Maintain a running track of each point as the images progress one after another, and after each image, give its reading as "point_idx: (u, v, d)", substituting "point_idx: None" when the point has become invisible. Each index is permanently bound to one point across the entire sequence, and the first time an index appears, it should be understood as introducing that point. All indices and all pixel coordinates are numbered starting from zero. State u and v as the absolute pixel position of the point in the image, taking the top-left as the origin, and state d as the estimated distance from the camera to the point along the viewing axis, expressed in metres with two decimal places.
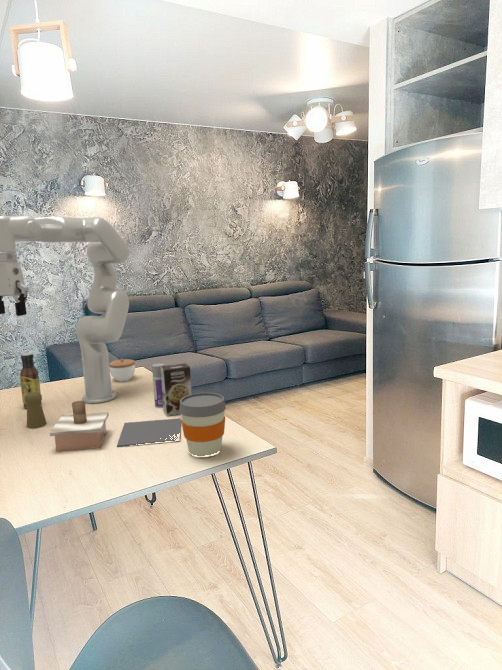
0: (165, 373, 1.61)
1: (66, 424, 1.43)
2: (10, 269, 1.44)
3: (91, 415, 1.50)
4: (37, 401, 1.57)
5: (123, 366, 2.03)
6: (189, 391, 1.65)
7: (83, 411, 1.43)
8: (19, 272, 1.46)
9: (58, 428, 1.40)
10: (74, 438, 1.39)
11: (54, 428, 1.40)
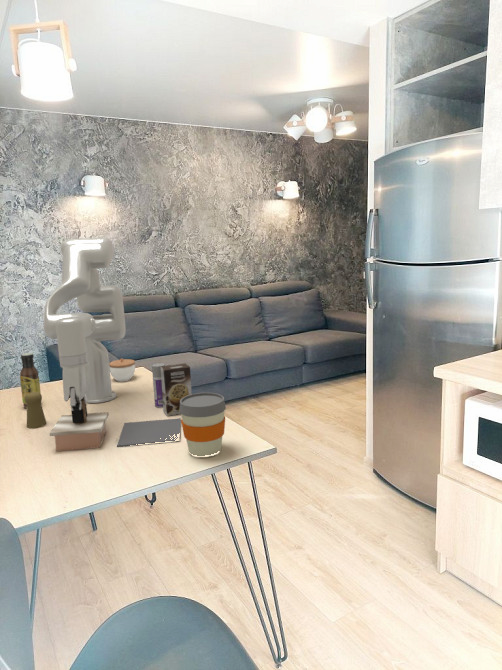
0: (165, 373, 1.61)
1: (66, 424, 1.43)
2: None
3: (91, 415, 1.50)
4: (37, 401, 1.57)
5: (123, 366, 2.03)
6: (189, 391, 1.65)
7: (83, 411, 1.43)
8: None
9: (58, 428, 1.40)
10: (74, 438, 1.39)
11: (54, 428, 1.40)
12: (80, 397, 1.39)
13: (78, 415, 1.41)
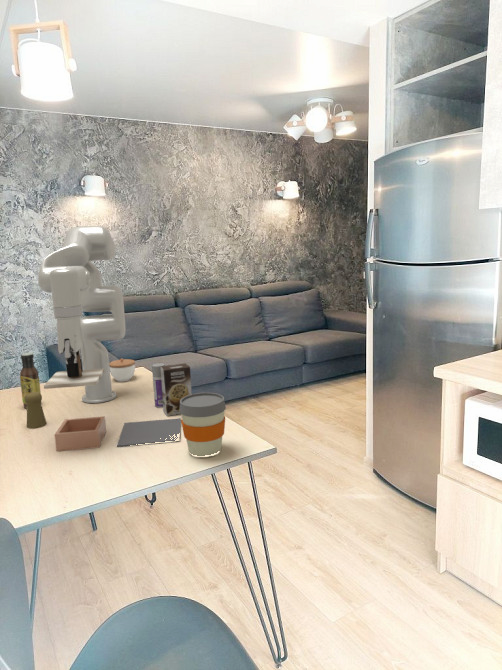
0: (165, 373, 1.61)
1: (61, 378, 1.40)
2: None
3: (86, 371, 1.47)
4: (37, 401, 1.57)
5: (123, 366, 2.03)
6: (189, 391, 1.65)
7: (78, 365, 1.41)
8: None
9: (53, 381, 1.38)
10: (74, 438, 1.39)
11: (48, 381, 1.38)
12: (75, 349, 1.36)
13: (73, 368, 1.39)
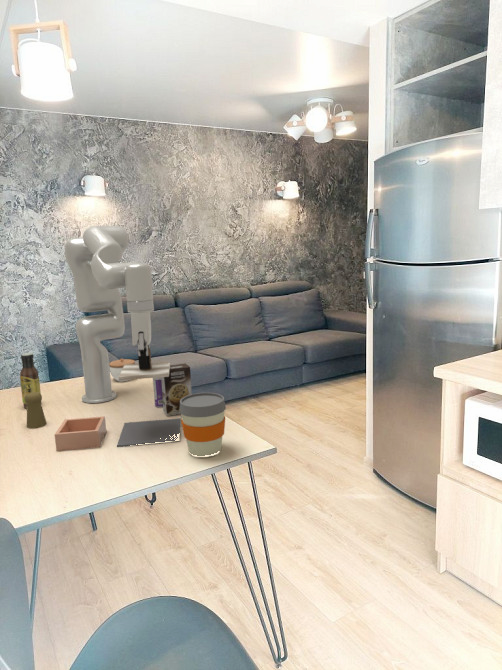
0: None
1: (132, 371, 1.44)
2: None
3: (154, 364, 1.51)
4: (37, 401, 1.57)
5: (123, 366, 2.03)
6: (189, 391, 1.65)
7: None
8: None
9: (126, 373, 1.42)
10: (74, 438, 1.39)
11: (122, 373, 1.42)
12: (148, 342, 1.40)
13: (145, 361, 1.43)
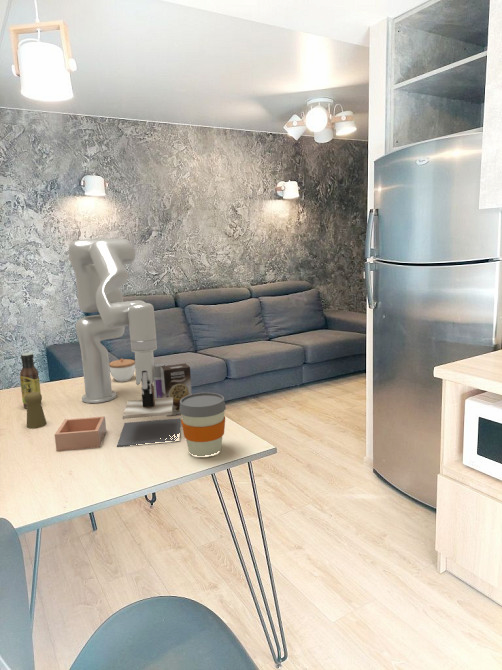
0: (165, 373, 1.61)
1: (136, 408, 1.46)
2: None
3: (157, 400, 1.53)
4: (37, 401, 1.57)
5: (123, 366, 2.03)
6: (189, 391, 1.65)
7: None
8: None
9: (129, 411, 1.44)
10: (74, 438, 1.39)
11: (125, 411, 1.44)
12: (151, 381, 1.43)
13: (148, 399, 1.45)
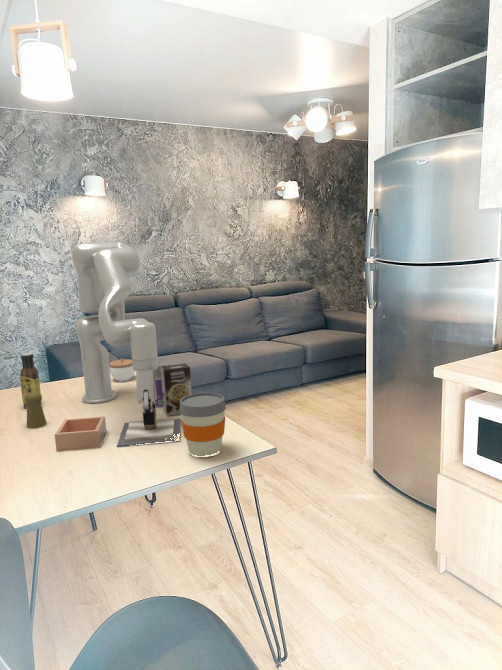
0: (165, 373, 1.61)
1: (138, 430, 1.48)
2: None
3: (158, 421, 1.55)
4: (37, 401, 1.57)
5: (123, 366, 2.03)
6: (189, 391, 1.65)
7: (154, 417, 1.48)
8: None
9: (131, 434, 1.45)
10: (74, 438, 1.39)
11: (127, 434, 1.45)
12: (153, 399, 1.44)
13: (149, 417, 1.45)
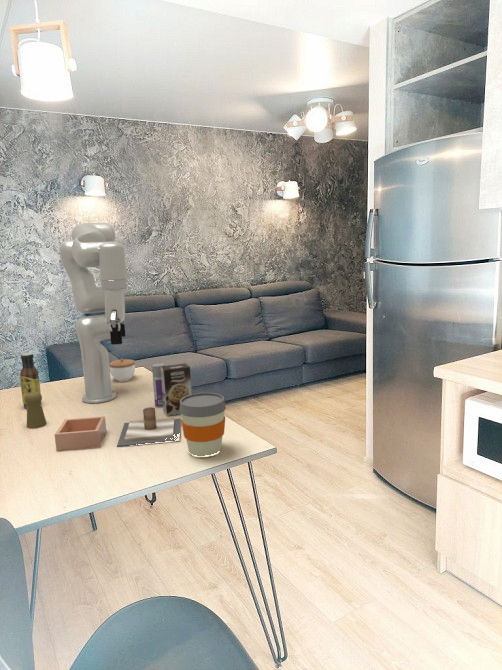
0: (165, 373, 1.61)
1: (138, 430, 1.48)
2: None
3: (158, 421, 1.55)
4: (37, 401, 1.57)
5: (123, 366, 2.03)
6: (189, 391, 1.65)
7: (154, 417, 1.48)
8: None
9: (131, 434, 1.45)
10: (74, 438, 1.39)
11: (127, 434, 1.45)
12: (121, 320, 1.45)
13: (117, 336, 1.45)
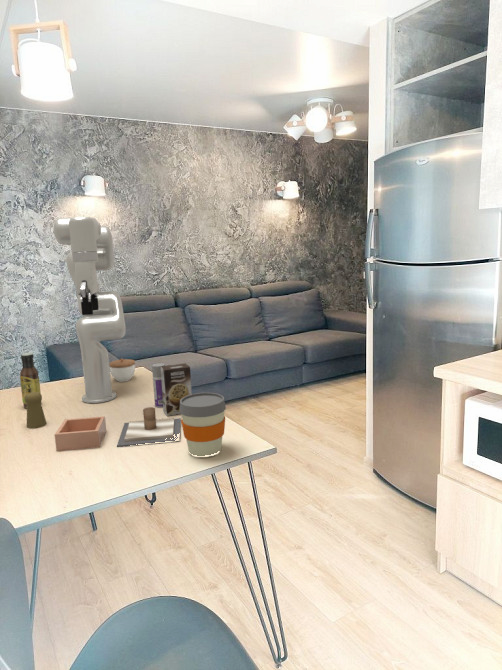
0: (165, 373, 1.61)
1: (138, 430, 1.48)
2: None
3: (158, 421, 1.55)
4: (37, 401, 1.57)
5: (123, 366, 2.03)
6: (189, 391, 1.65)
7: (154, 417, 1.48)
8: None
9: (131, 434, 1.45)
10: (74, 438, 1.39)
11: (127, 434, 1.45)
12: (91, 291, 1.49)
13: (87, 306, 1.49)
